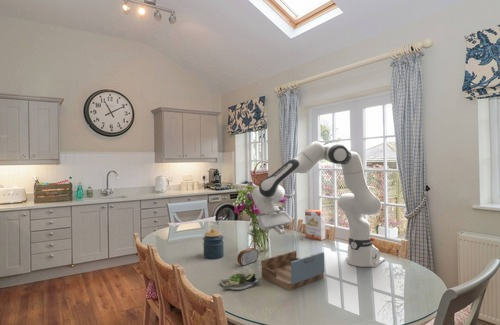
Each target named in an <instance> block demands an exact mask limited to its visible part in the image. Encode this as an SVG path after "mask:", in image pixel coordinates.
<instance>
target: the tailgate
mask: <svg viewBox="0 0 500 325" xmlns="http://www.w3.org/2000/svg"><path fill="white" fill-rule="evenodd" d="M322 273H324V274H325V252H318V253H315V254H312V255H309V256H308V255H307V256H304V257H301V258H299V259H298V260H295V261H292V262H291V284H295V283H298V282H301V281H303V280H306V279H309V278H311V277H314V276H317V275H319V274H322Z"/></svg>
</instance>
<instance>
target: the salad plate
mask: <svg viewBox="0 0 500 325" xmlns="http://www.w3.org/2000/svg"><path fill="white" fill-rule="evenodd" d="M228 282H229V284H228ZM260 283H261V281H259V279H258V278H256V275H255V273H254V272H251V273H249V274H248V273H247V274H246V273H242V272H241V273H240V272H239V273H234V274H232V275H230V276H227V277H224V278H222V279H220V281H219V284H220V285H221V286H222V289H224V290H230V291H231V290H233V291H243V290H246V289H249V288H252V287H254V286H256V285H259V284H260Z"/></svg>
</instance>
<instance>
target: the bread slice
mask: <svg viewBox="0 0 500 325" xmlns="http://www.w3.org/2000/svg"><path fill="white" fill-rule="evenodd" d="M258 258H259V251H258V249H256V248H254V247H250V248H246V249H243V250H241V251H240V252H239V253H238V255H237V263H238V265H241V266H243V267H244V266H248V265H250V264H253V263H256V261H257V260H258Z"/></svg>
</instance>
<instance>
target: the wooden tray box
mask: <svg viewBox="0 0 500 325" xmlns="http://www.w3.org/2000/svg"><path fill="white" fill-rule="evenodd" d="M298 259H300V258H299V257H297V250H293V251H289V252H286V253H282V254H278V255H275V256H272V257H267V258H265V259H262V260H261V261H260V262H261V279H263V280H265V281H267V282H270V283H272V284H275V285H277V286H279V287H281V288H283V289H285V290H288V291H291V290H294V289H296V288H299V287H302V286H304V285H307V284H310V283H312V282H314V281H317V280H319V279H322V278H324V276H325V275H324V274H325V273H322V274H319V275H317V276H314V277H311V278H309V279H306V280H303V281H301V282H298V283H295V284H291V262H292V261H295V260H298Z"/></svg>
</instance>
